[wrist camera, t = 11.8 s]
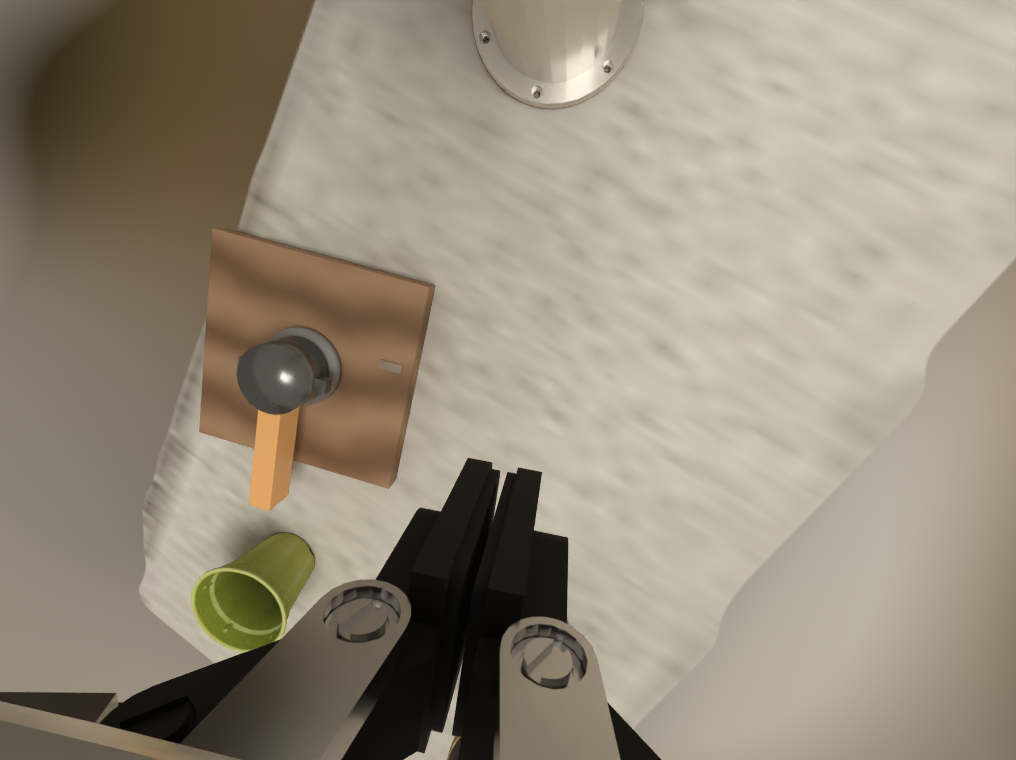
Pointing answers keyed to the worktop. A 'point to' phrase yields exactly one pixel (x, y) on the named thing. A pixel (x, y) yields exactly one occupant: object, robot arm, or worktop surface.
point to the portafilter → (279, 407)
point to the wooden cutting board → (338, 334)
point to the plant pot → (253, 593)
